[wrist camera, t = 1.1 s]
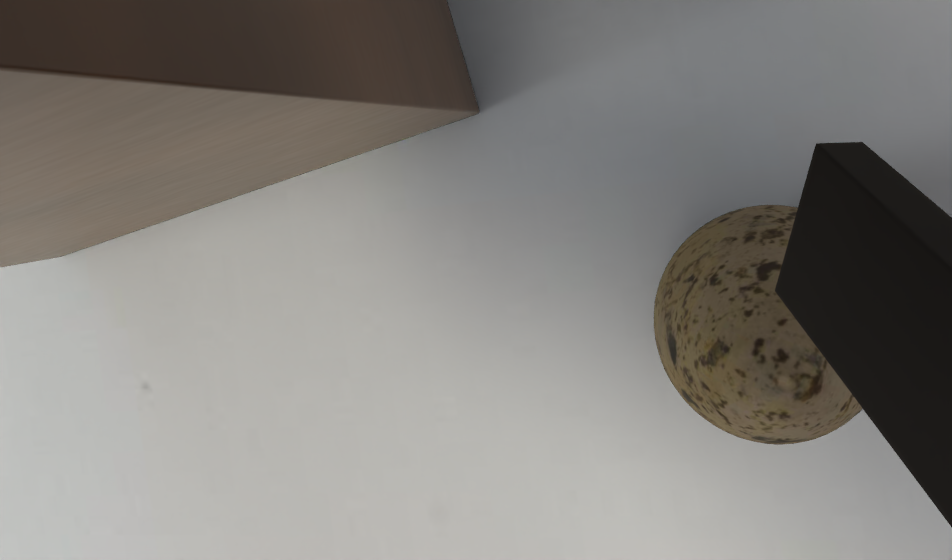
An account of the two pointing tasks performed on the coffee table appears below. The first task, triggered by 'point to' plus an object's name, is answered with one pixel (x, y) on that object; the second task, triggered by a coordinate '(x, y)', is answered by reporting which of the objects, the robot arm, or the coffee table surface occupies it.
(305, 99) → the plinth
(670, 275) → the decorative egg
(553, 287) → the coffee table surface
